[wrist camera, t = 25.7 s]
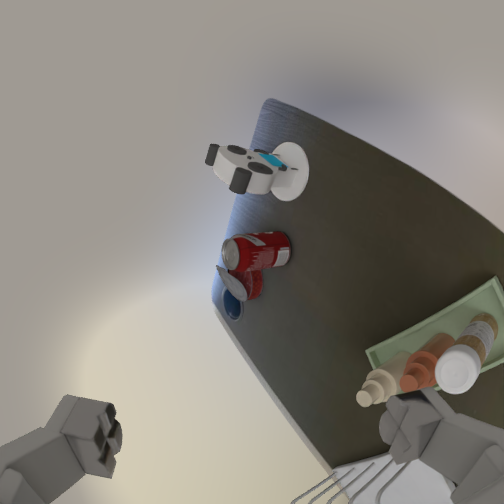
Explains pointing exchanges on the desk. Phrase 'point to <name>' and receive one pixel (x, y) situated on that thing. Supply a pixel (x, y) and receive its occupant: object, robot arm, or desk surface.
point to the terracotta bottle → (424, 363)
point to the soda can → (256, 251)
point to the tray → (450, 326)
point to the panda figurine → (261, 169)
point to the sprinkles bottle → (466, 355)
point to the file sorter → (388, 482)
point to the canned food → (242, 283)
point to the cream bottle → (383, 380)
